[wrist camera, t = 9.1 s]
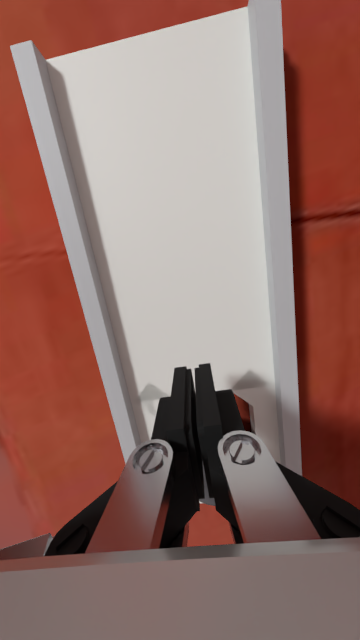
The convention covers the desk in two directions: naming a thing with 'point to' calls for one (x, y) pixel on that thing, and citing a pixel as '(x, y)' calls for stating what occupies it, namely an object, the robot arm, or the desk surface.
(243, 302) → the tray
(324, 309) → the desk surface
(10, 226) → the desk surface
